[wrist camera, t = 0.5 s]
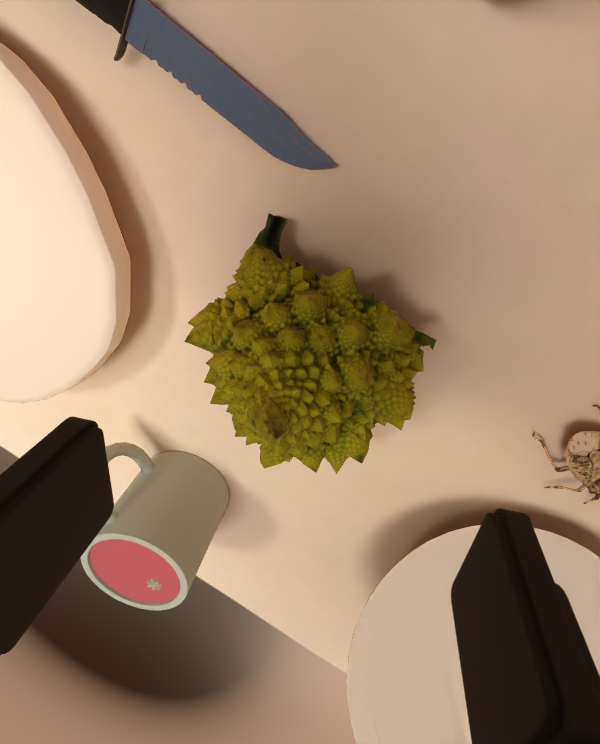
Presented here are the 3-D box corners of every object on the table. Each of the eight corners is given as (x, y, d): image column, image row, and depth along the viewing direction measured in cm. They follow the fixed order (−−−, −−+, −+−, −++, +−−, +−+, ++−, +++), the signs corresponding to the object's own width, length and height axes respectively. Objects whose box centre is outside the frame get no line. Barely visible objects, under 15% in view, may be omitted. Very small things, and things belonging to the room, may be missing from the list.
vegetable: (204, 166, 24) (248, 361, 15) (408, 235, 31) (519, 392, 22) (154, 342, 33) (162, 526, 24) (319, 363, 41) (372, 509, 32)
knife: (-61, -68, 22) (-58, -200, 19) (-25, -58, 24) (-17, -177, 21) (304, 215, 27) (352, 144, 24) (311, 205, 29) (356, 138, 26)
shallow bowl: (740, 646, 31) (672, 608, 37) (452, 462, 34) (432, 455, 40) (574, 950, 30) (531, 859, 36) (285, 734, 32) (291, 683, 38)
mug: (245, 510, 42) (208, 603, 33) (174, 526, 45) (123, 615, 37) (173, 402, 37) (108, 477, 29) (99, 428, 40) (21, 503, 32)
